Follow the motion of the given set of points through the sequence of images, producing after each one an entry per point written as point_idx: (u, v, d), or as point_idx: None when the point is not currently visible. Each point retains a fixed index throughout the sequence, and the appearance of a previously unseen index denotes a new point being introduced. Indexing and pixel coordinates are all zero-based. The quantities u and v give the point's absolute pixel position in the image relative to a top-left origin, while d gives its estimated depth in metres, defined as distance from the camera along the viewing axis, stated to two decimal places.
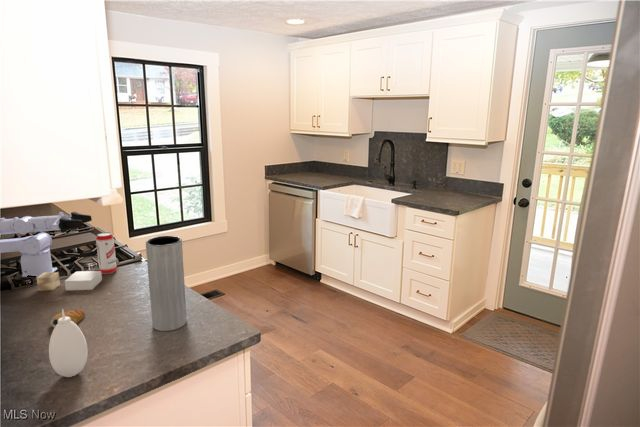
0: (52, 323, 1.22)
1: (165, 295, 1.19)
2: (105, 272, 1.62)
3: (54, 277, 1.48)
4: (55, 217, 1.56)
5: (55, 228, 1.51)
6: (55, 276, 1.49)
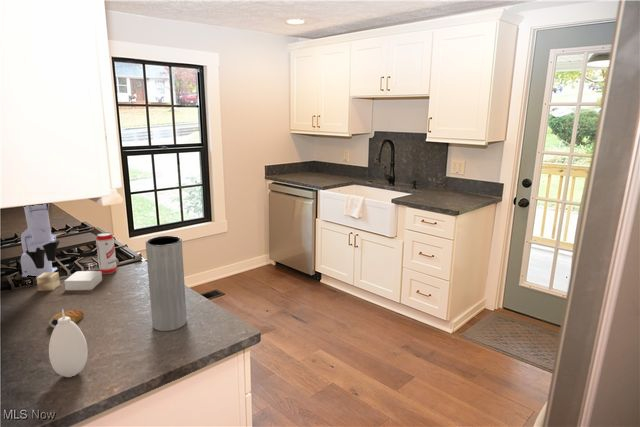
0: (51, 323, 1.22)
1: (165, 295, 1.19)
2: (105, 272, 1.62)
3: (54, 277, 1.48)
4: (47, 237, 1.44)
5: (29, 249, 1.38)
6: (55, 276, 1.49)
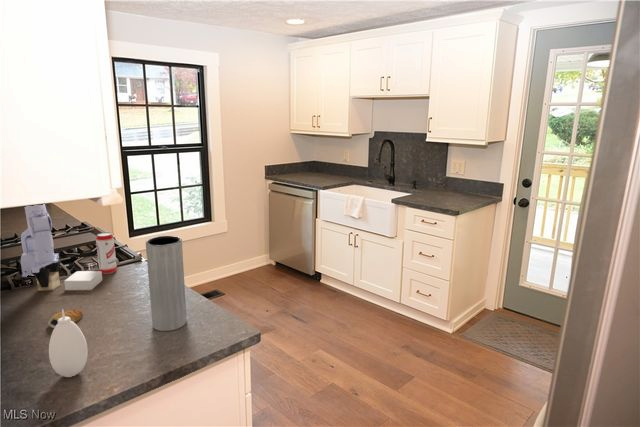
0: (50, 323, 1.22)
1: (165, 295, 1.19)
2: (105, 272, 1.62)
3: (54, 276, 1.48)
4: (50, 258, 1.45)
5: (33, 270, 1.40)
6: (55, 276, 1.49)
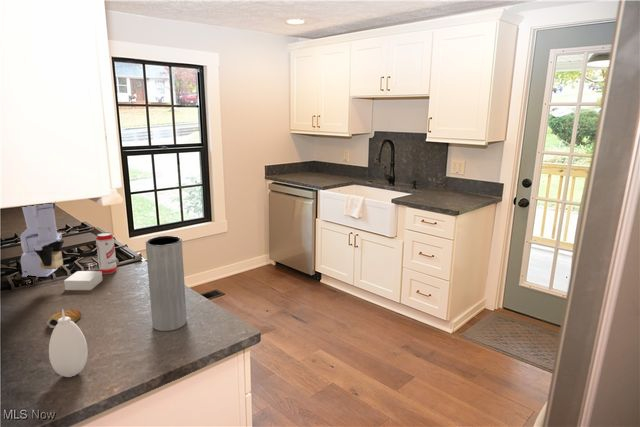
0: (49, 323, 1.22)
1: (165, 295, 1.19)
2: (105, 272, 1.62)
3: (57, 256, 1.47)
4: (53, 236, 1.44)
5: (35, 248, 1.38)
6: (58, 255, 1.47)
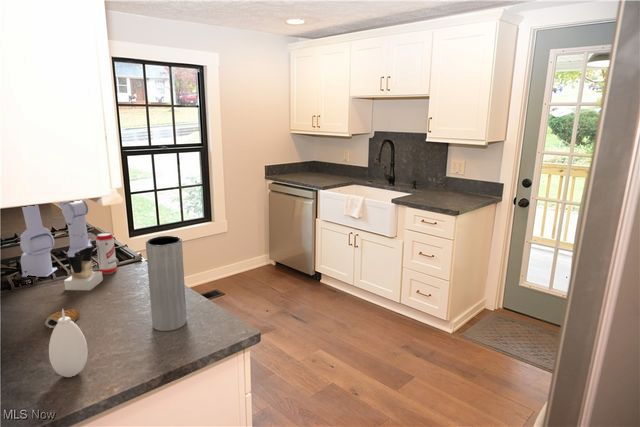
0: (47, 323, 1.22)
1: (165, 295, 1.19)
2: (105, 272, 1.62)
3: (88, 265, 1.50)
4: (84, 243, 1.47)
5: (68, 254, 1.42)
6: (88, 265, 1.51)
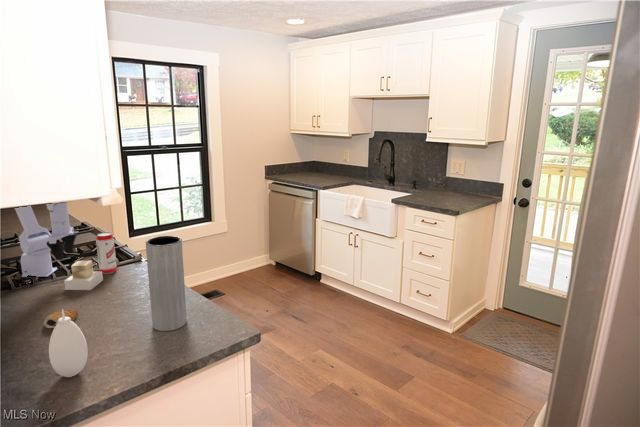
0: (46, 323, 1.22)
1: (165, 295, 1.19)
2: (105, 272, 1.62)
3: (88, 265, 1.50)
4: (66, 230, 1.49)
5: (50, 241, 1.43)
6: (89, 264, 1.51)
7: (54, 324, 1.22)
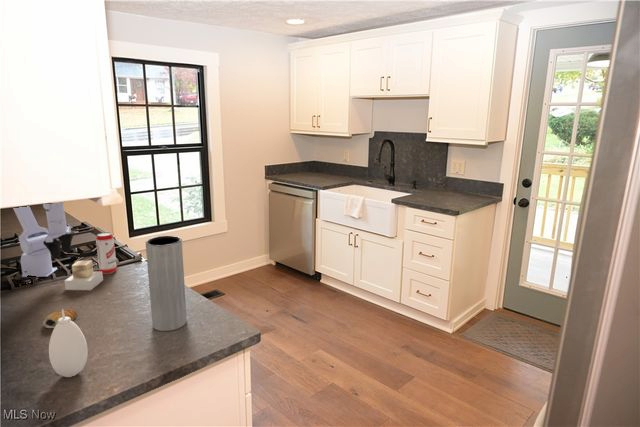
0: (45, 323, 1.22)
1: (165, 295, 1.19)
2: (105, 272, 1.62)
3: (89, 265, 1.51)
4: (62, 229, 1.49)
5: (46, 240, 1.44)
6: (89, 264, 1.51)
7: (53, 324, 1.22)
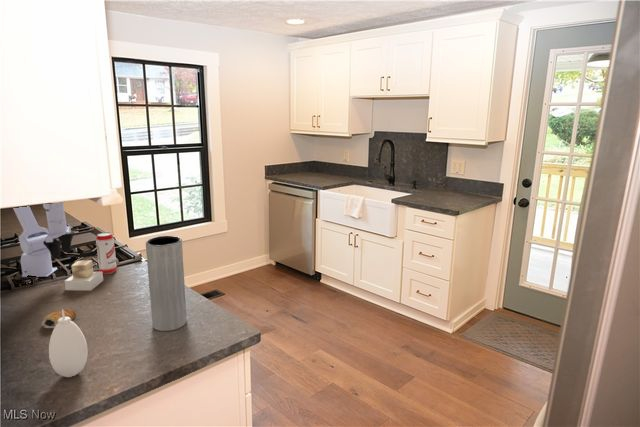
0: (44, 324, 1.22)
1: (165, 295, 1.19)
2: (105, 272, 1.62)
3: (88, 265, 1.50)
4: (62, 229, 1.49)
5: (46, 240, 1.44)
6: (89, 264, 1.51)
7: (52, 324, 1.22)
